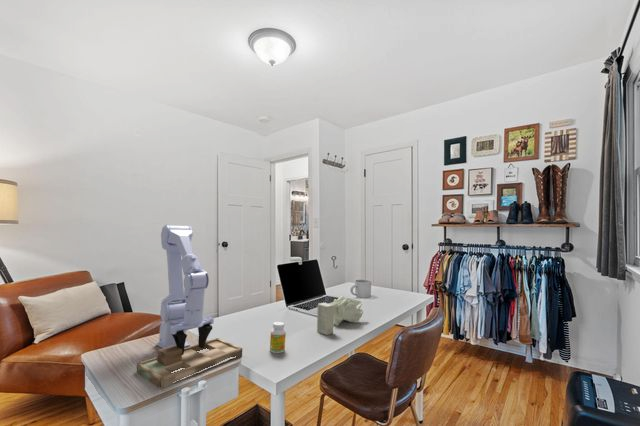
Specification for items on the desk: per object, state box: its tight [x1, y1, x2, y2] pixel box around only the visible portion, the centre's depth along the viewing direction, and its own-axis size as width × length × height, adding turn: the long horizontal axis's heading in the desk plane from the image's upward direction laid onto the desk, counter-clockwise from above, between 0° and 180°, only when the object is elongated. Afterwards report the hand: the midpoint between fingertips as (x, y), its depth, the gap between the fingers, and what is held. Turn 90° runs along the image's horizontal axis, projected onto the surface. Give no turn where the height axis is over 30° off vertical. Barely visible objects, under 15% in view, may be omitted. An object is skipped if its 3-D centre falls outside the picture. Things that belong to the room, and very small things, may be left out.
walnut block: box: [156, 345, 182, 366], centre depth 94 cm, size 5×5×4 cm
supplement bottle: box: [269, 321, 287, 354], centre depth 111 cm, size 5×5×10 cm
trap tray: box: [135, 337, 244, 389], centre depth 97 cm, size 14×28×3 cm, turn 145°
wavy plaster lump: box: [331, 295, 364, 327], centre depth 148 cm, size 18×13×16 cm
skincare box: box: [316, 302, 334, 336], centre depth 133 cm, size 6×4×12 cm
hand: (191, 350), depth 100 cm, fingers open, 7 cm apart
